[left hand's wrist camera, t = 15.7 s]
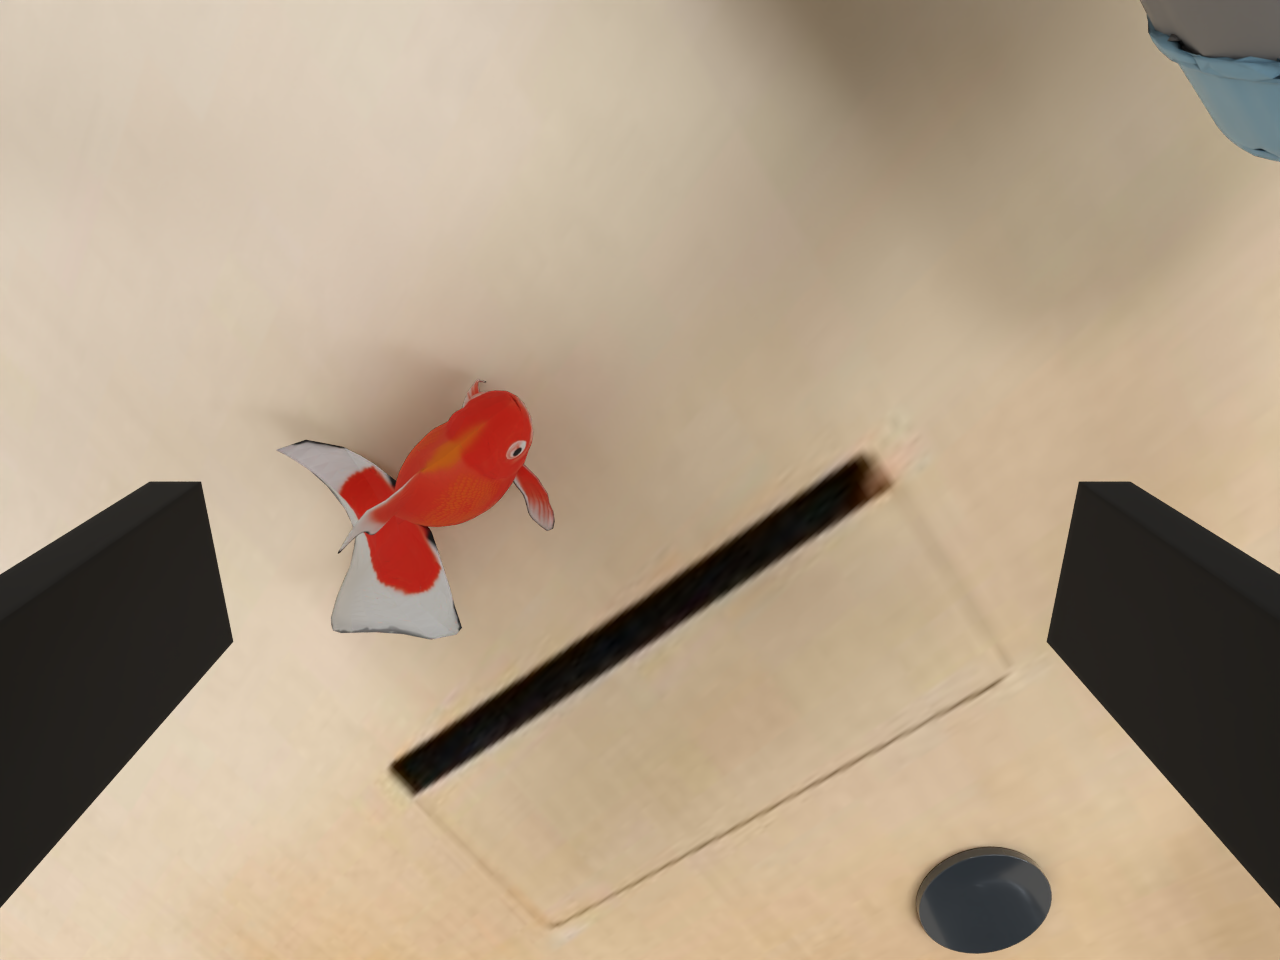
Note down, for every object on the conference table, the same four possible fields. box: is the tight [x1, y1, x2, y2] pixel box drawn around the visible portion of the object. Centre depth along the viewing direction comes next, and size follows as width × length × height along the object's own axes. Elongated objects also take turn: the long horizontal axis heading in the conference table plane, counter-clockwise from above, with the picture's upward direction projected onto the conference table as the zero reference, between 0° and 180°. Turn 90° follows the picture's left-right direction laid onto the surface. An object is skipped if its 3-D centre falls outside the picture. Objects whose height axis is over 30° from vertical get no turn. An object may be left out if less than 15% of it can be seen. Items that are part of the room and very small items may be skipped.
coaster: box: [916, 847, 1052, 954], centre depth 50 cm, size 8×8×1 cm
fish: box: [277, 379, 554, 639], centre depth 37 cm, size 11×16×10 cm
